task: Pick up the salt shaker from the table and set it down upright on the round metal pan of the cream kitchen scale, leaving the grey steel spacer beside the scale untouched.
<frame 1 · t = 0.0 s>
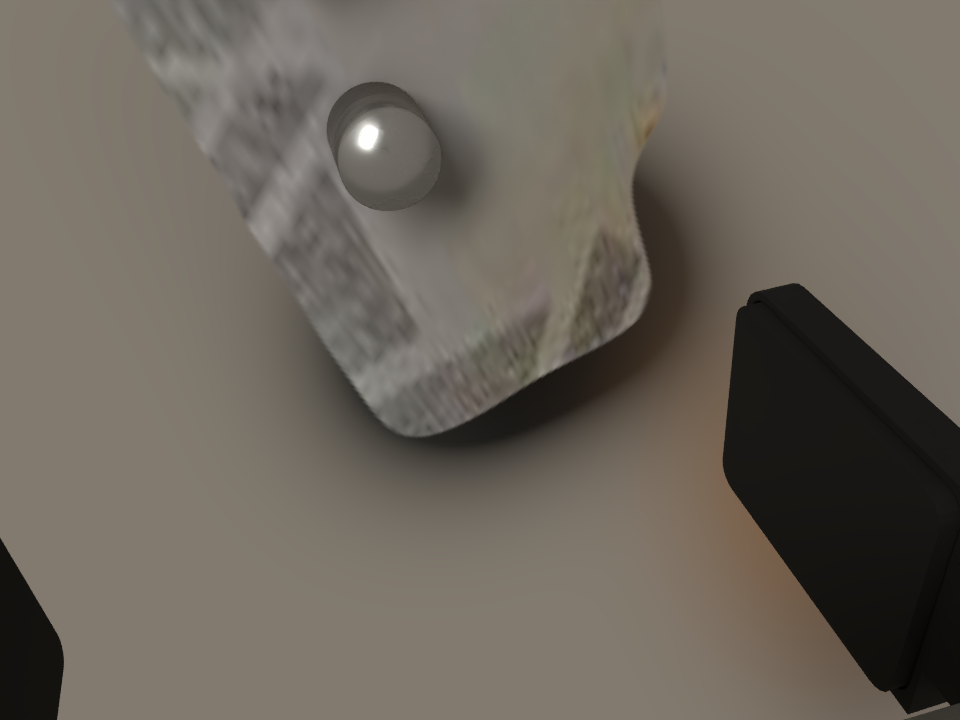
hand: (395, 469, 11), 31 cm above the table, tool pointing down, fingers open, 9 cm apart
steel spacer: (375, 129, 41), on the table
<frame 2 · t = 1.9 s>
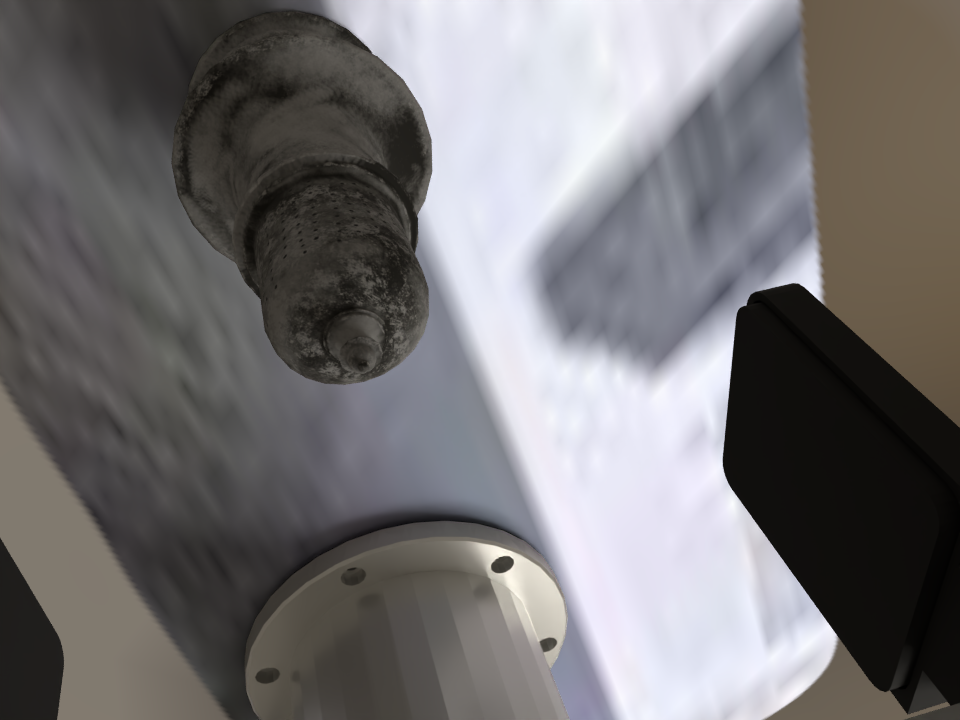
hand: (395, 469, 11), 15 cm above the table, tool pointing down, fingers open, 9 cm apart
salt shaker: (292, 114, 24), on the table
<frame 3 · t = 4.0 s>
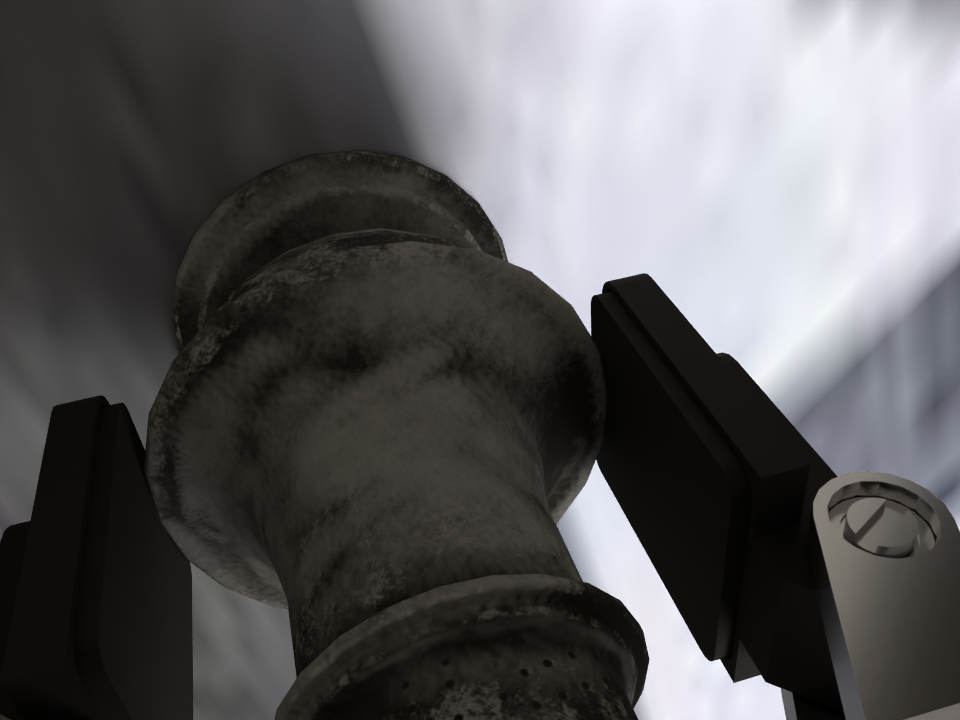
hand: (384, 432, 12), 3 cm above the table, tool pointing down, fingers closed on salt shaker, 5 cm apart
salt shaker: (347, 304, 14), on the table, touching gripper
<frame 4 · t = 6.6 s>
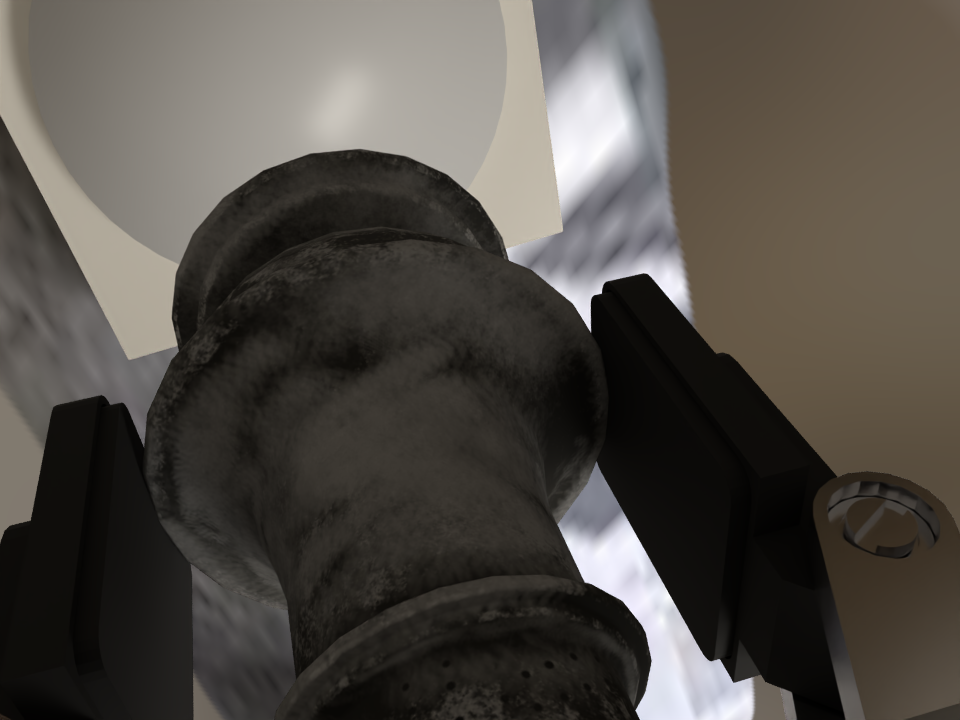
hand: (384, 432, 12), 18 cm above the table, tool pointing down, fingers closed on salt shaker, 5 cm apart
scale: (274, 44, 26), on the table
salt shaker: (347, 303, 14), point 15 cm above the table, touching gripper
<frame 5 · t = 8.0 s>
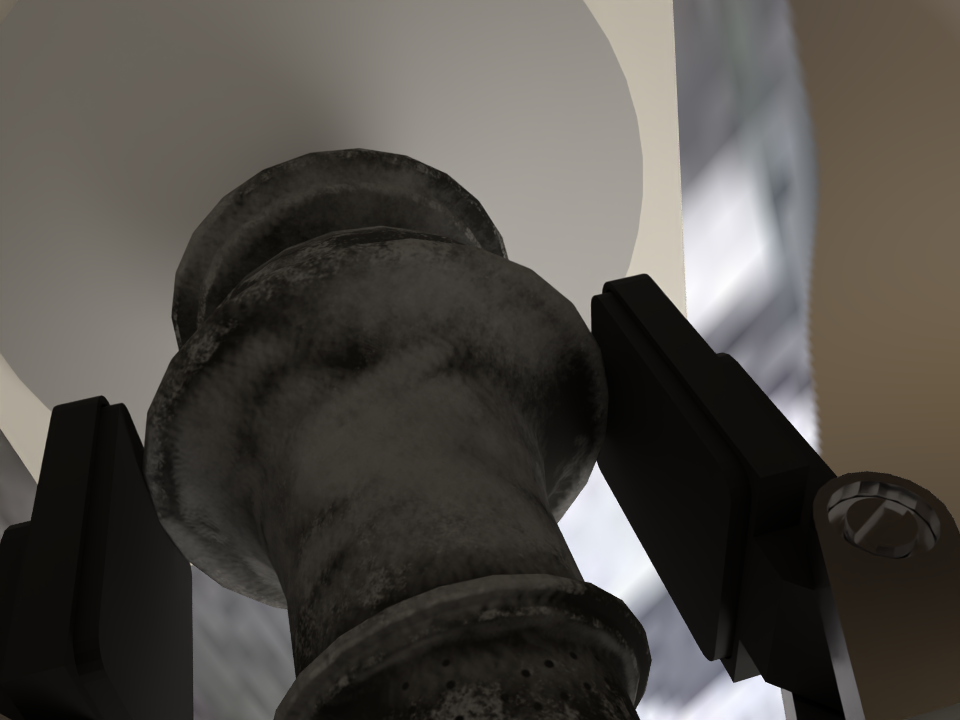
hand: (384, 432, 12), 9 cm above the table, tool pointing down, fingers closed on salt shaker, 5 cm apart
scale: (309, 170, 19), on the table
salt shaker: (347, 303, 14), point 6 cm above the table, touching gripper
when the fingers open (7 cm above the table, at t = 9.3 s): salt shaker stays where it is, resting on scale.
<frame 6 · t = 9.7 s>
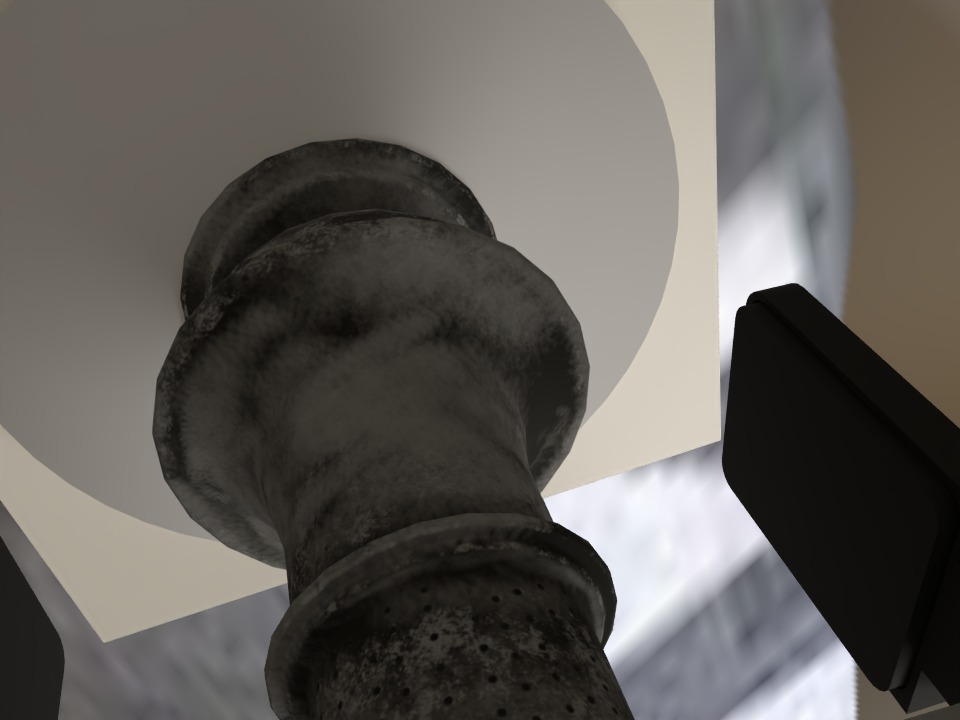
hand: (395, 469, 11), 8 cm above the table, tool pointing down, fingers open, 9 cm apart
scale: (317, 194, 18), on the table
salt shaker: (346, 286, 15), point 3 cm above the table, touching scale
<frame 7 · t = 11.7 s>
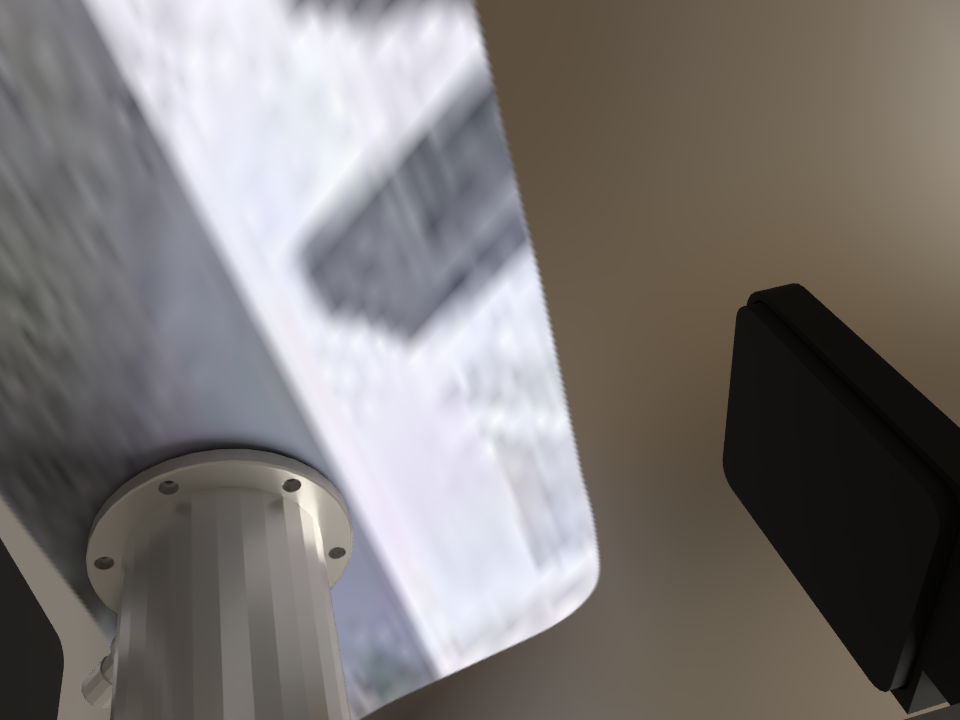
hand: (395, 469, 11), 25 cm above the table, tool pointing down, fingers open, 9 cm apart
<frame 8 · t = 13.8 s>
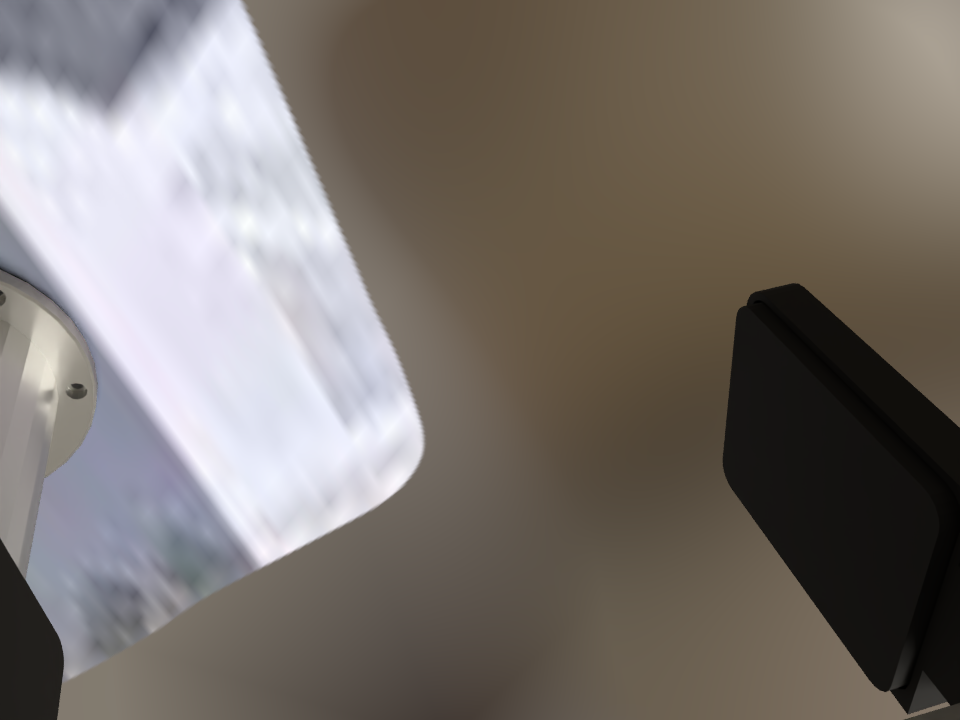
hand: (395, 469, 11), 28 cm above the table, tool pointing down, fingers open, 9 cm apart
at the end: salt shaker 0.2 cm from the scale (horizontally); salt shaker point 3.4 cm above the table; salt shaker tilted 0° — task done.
